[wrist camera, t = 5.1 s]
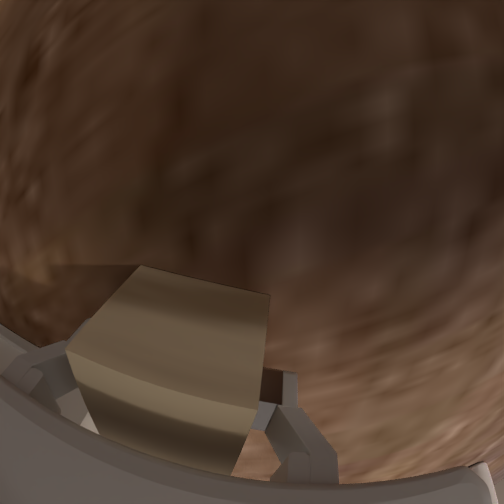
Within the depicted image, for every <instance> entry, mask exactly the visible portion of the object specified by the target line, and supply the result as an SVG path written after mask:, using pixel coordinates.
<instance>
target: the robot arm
mask: <svg viewBox="0 0 504 504" xmlns="http://www.w3.org/2000/svg"><path fill="white" fill-rule="evenodd" d="M90 319H91V318H88V319H86V320H85V321H84V322H83V323H82V324H81V325H80V327H79V328H78V329H77V330H76V331H75V332H74V333H73V334H72V336H71V337H70V338H69V339H68V340H67V341H65V340H63V341H60V342H57V343H54V344H51V345H48V346H45V347H42V348H39V349H36V350H33V351H30V352H27V353H24V354H21V355H18V356H17V357H16V358H15V359H14V360H13V361H12V362H11V364H10V365H9V366H8V367H7V368H6V369H5V370H4V372H3V373H2V374H1V375H0V504H492V500H491V495H490V491H489V488H488V486H487V484H486V483H485V482H484V481H483V480H482V479H481V478H480V477H479V476H478V475H477V474H476V473H475V472H473V471H472V470H471V469H469V468H468V467H467V466H457V467H453V468H449V469H446V470H442V471H438V472H433V473H429V474H424V475H419V476H414V477H408V478H402V479H395V480H387V481H379V482H368V483H355V484H339V475H338V460H337V453H336V451H335V450H334V449H333V448H332V446H331V445H330V444H329V443H328V441H327V440H326V439H325V438H324V436H323V435H322V434H321V432H320V431H319V430H318V429H317V427H316V426H315V425H314V423H313V422H312V421H311V420H310V418H309V417H308V416H307V414H306V413H305V412H304V410H303V409H302V408H298V386H297V373H296V372H290V371H284V370H283V371H282V370H278V369H272V368H266V367H263V370H262V379H261V388H260V397H259V405H258V411H257V414H256V416H255V419H254V421H253V424H252V426H251V429H256V430H262V431H265V434H266V436H267V438H268V440H269V441H270V443H271V445H272V447H273V449H274V451H275V453H276V455H277V456H278V458H279V460H280V462H281V465H280V467H279V468H278V469H277V470H276V472H275V473H274V474H273V475H272V476H271V478H270V481H261V480H253V479H246V478H240V477H234V476H228V475H223V474H218V473H213V472H209V471H204V470H200V469H196V468H192V467H188V466H184V465H181V464H177V463H174V462H170V461H167V460H164V459H161V458H157V457H154V456H151V455H149V454H146V453H143V452H140V451H137V450H135V449H132V448H129V447H127V446H124V445H122V444H120V443H117V442H115V441H112V440H110V439H108V438H106V437H103V436H101V435H99V434H97V433H95V432H93V431H90V430H88V429H86V428H84V427H82V426H80V425H78V424H77V423H75V422H73V421H71V420H69V419H67V418H65V417H64V416H62V415H60V414H61V409H60V407H59V405H58V403H57V401H56V399H58V398H60V397H61V396H63V395H65V394H67V393H69V392H71V391H72V390H74V389H76V388H78V385H77V382H76V380H75V377H74V374H73V372H72V369H71V366H70V363H69V360H68V357H67V354H66V351H65V348H66V347H67V345H68V344H69V343H70V342H71V341H72V339H73V338H74V337H75V336H76V335H77V334H78V332H79V331H80V330H81V329H82V328H83V327H84V326H85V324H86V323H87V322H88V321H89V320H90Z"/></svg>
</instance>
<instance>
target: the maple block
mask: <svg viewBox="0 0 504 504" xmlns="http://www.w3.org/2000/svg"><path fill="white" fill-rule="evenodd" d="M269 302H270V295H266V294H261V293H257V292H252V291H247V290H243V289H238V288H234V287H229V286H225V285H220V284H216V283H212V282H207V281H203V280H199V279H195V278H191V277H186V276H182V275H178V274H174V273H170V272H166V271H162V270H158V269H154V268H150V267H146V266H142V265H140V266H139V267H138V268H137V269H136V270H135V272H134V273H133V274H132V275H131V276H130V277H129V278H128V279H127V280H126V281H125V282H124V283H123V284H122V285H121V286H120V287H119V288H118V289H117V290H116V291H115V292H114V294H113V295H112V296H111V297H110V298H109V299H108V300H107V301H106V302H105V303H104V304H103V305H102V307H101V308H100V309H99V310H98V311H97V312H96V313H95V314H94V315H93V317H92V318H91V319H90V320H89V321H88V322H87V323H86V324H85V326H84V327H83V328H82V329H81V330H80V331H79V332H78V334H77V335H76V336H75V337H74V338H73V339H72V341H71V342H70V343H69V344H68V345H67V347H66V348H65V351H66V354H67V357H68V360H69V363H70V366H71V369H72V372H73V374H74V377H75V380H76V382H77V385H78V388H79V390H80V393H81V395H82V397H83V400H84V402H85V405H86V407H87V409H88V411H89V414H90V416H91V418H92V420H93V422H94V424H95V426H96V428H97V431H98V433H99V435H101V436H103V437H106V438H108V439H110V440H112V441H115V442H117V443H120V444H122V445H124V446H127V447H129V448H132V449H135V450H137V451H140V452H143V453H146V454H149V455H151V456H154V457H157V458H161V459H164V460H167V461H170V462H174V463H177V464H181V465H184V466H188V467H192V468H196V469H200V470H204V471H209V472H213V473H218V474H223V475H228V476H230V475H231V473H232V471H233V468H234V466H235V464H236V462H237V459H238V457H239V455H240V452H241V450H242V448H243V445H244V443H245V441H246V438H247V436H248V433H249V431H250V429H251V426H252V424H253V421H254V419H255V416H256V414H257V411H258V405H259V397H260V388H261V379H262V370H263V361H264V352H265V342H266V332H267V322H268V312H269Z"/></svg>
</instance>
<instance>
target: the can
mask: <svg viewBox="0 0 504 504" xmlns="http://www.w3.org/2000/svg"><path fill="white" fill-rule="evenodd" d="M468 468H469V469H471V470H472V471H473V472H475V473H476V474H477V475H478V476H479V477H480V478H481V479H482V480H483V481H484V482H485V483H486V484H487V486H488V488H489V491H490V495H491V500H492V504H498V500H497V496H496V492H495V488H494V485H493V482H492V478H491V475H490V472H489V469H488V466H487V463H485V462H479V463H476V464H474V465H472V466H470V467H468Z"/></svg>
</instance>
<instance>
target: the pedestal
mask: <svg viewBox="0 0 504 504" xmlns="http://www.w3.org/2000/svg"><path fill="white" fill-rule="evenodd" d="M36 349H39V348H38V347H37V346H35V345H33V344H32V343H30V342H28V341H26V340H25V339H23V338H21V337H20V336H18V335H17V334H15V333H13V332H12V331H10V330H9V329H7V328H6V327H4V326H3V325H1V324H0V375H1V374H2V373H3V372H4V370H5V369H6V368H7V367H8V366H9V365H10V364H11V362H12V361H13V360H14V359H15V358H16V357H17V356H18V355H21V354H24V353H27V352H30V351H33V350H36ZM56 401H57V403H58V405H59V407H60V409H61V414H60V415H62V416H64V417H65V418H67V419H69V420H71V421H73V422H75V423H77V424H78V425H80V426H82V427H84V428H86V429H88V430H90V431H93V432H95V433H97V434H99V433H98V431H97V428H96V426H95V424H94V422H93V420H92V418H91V416H90V414H89V411H88V409H87V407H86V405H85V402H84V400H83V397H82V395H81V393H80V390H79V388H76V389H74V390H72V391H71V392H69V393H67V394H65V395H63V396H61V397H60V398H58V399H56Z"/></svg>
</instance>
